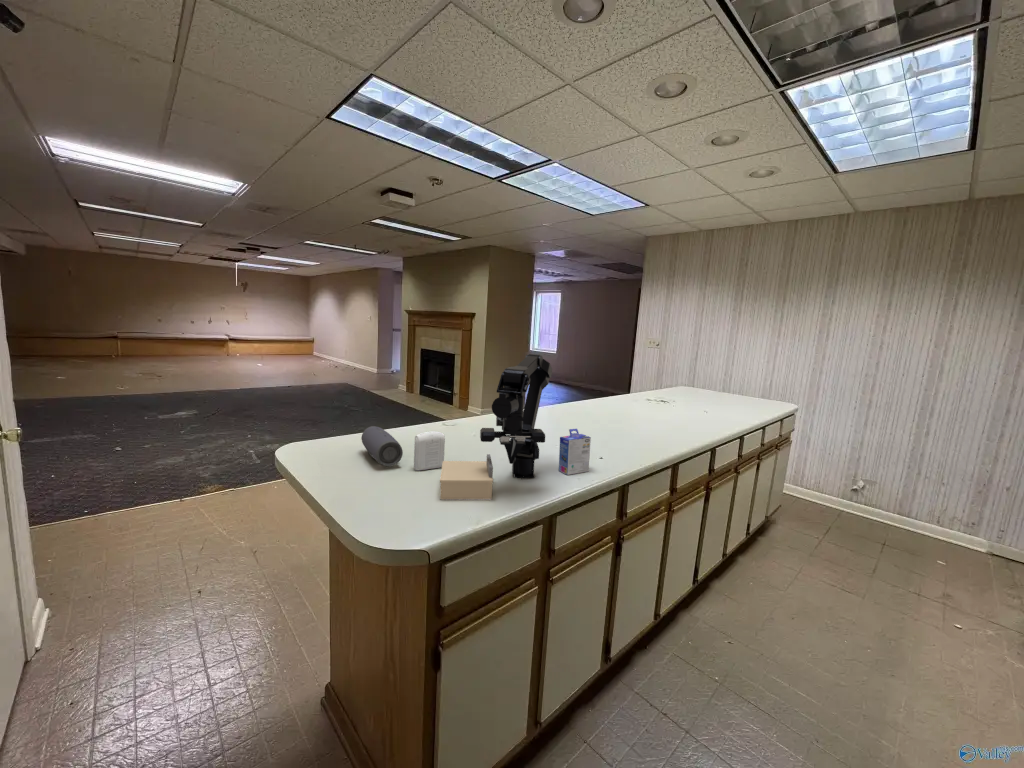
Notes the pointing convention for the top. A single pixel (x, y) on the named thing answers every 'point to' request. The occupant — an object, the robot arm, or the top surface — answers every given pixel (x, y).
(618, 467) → the top surface
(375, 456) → the bluetooth speaker
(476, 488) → the mailer box
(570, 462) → the ink cartridge box
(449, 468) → the lid
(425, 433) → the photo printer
